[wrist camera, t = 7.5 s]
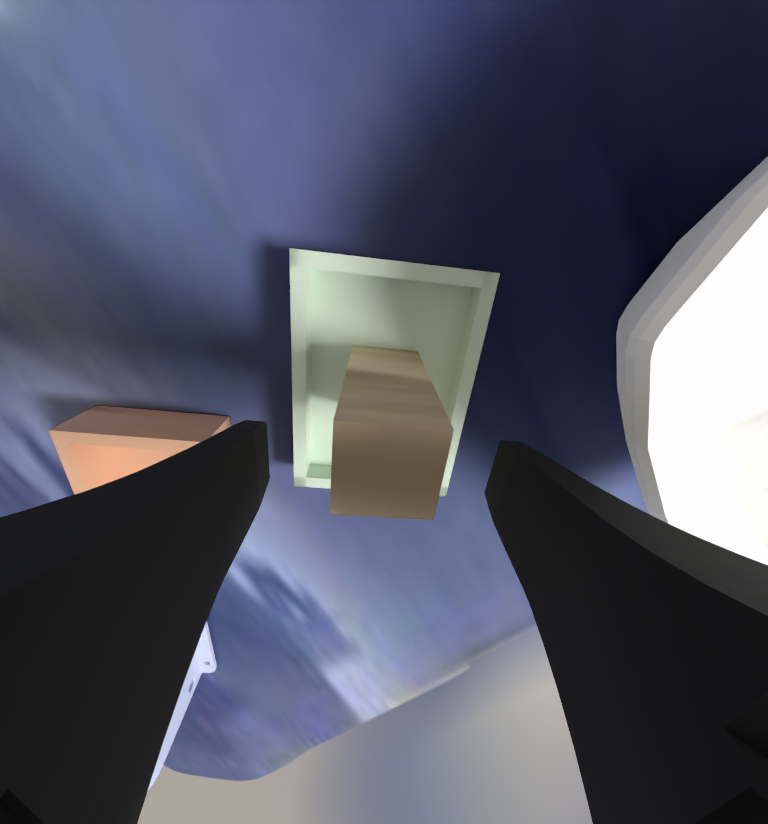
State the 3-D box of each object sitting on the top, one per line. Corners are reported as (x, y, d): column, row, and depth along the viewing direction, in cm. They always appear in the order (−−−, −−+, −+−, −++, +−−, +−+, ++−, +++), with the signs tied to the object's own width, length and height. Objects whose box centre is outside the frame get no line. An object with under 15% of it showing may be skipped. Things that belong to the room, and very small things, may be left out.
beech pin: (408, 409, 16) (433, 520, 9) (349, 404, 16) (329, 513, 9) (417, 351, 15) (454, 430, 8) (352, 344, 14) (333, 420, 8)
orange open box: (240, 512, 19) (222, 546, 17) (127, 505, 19) (92, 539, 17) (229, 416, 16) (205, 442, 14) (95, 405, 16) (48, 430, 14)
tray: (439, 475, 19) (445, 496, 17) (301, 465, 18) (294, 486, 16) (485, 271, 14) (500, 273, 12) (299, 249, 13) (289, 248, 12)
